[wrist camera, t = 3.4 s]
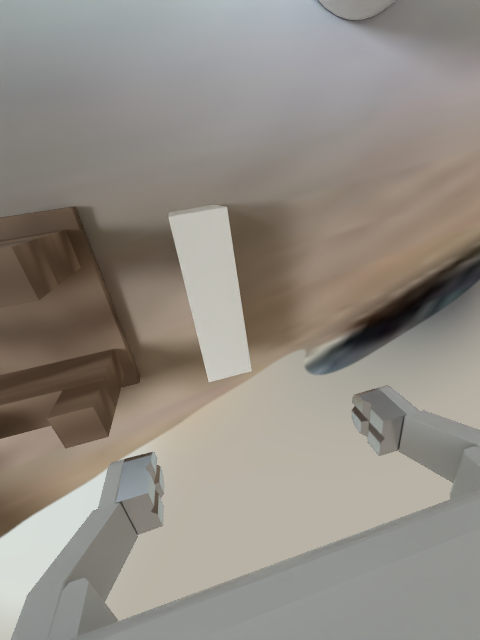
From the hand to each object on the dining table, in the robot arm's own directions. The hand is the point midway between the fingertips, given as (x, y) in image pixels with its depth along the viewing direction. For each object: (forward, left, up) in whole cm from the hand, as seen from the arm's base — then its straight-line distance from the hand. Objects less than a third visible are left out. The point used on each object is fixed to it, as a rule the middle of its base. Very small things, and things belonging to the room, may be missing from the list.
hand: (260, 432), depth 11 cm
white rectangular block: (-1, 0, -18) cm, 18 cm away
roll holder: (-1, -16, -18) cm, 24 cm away
